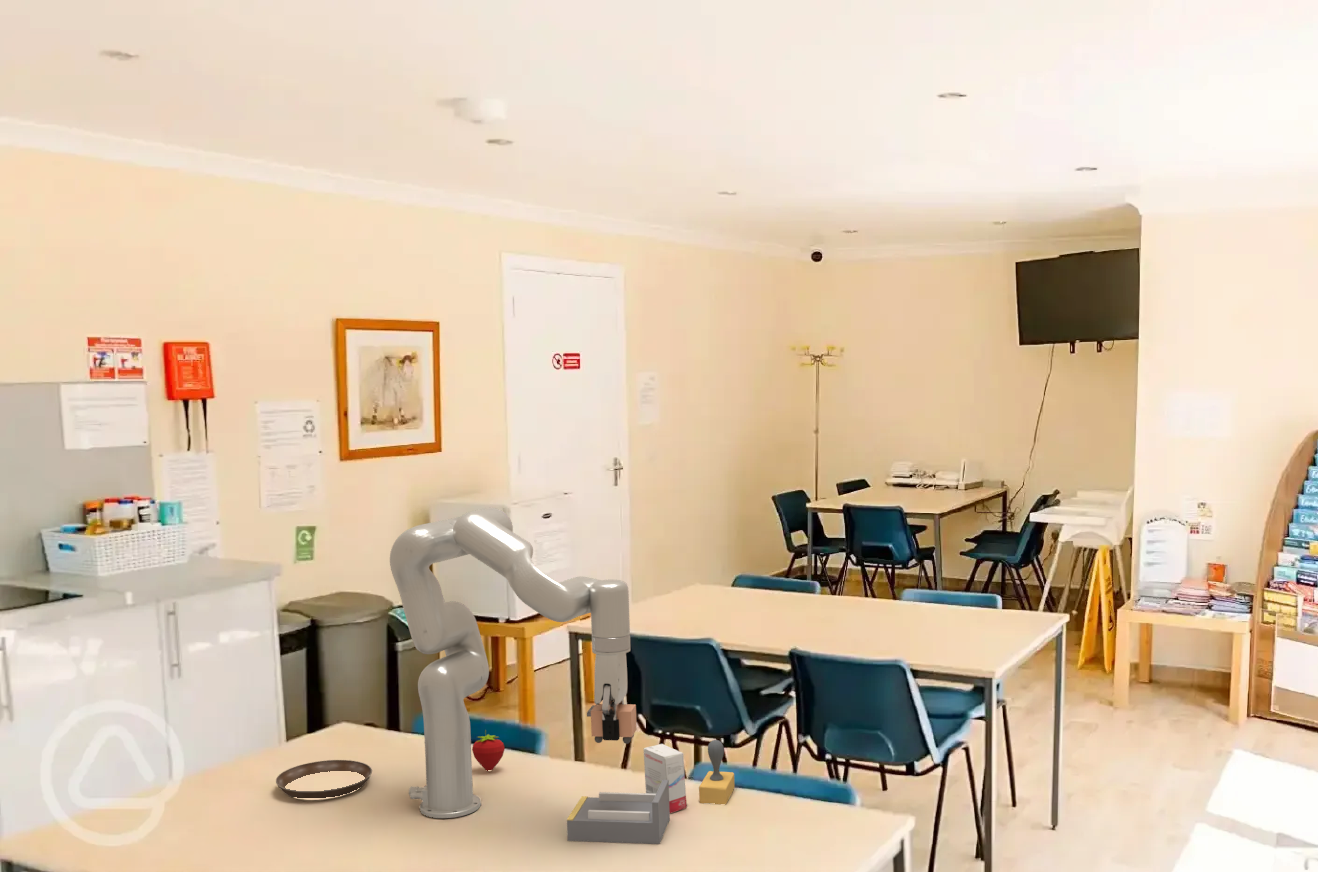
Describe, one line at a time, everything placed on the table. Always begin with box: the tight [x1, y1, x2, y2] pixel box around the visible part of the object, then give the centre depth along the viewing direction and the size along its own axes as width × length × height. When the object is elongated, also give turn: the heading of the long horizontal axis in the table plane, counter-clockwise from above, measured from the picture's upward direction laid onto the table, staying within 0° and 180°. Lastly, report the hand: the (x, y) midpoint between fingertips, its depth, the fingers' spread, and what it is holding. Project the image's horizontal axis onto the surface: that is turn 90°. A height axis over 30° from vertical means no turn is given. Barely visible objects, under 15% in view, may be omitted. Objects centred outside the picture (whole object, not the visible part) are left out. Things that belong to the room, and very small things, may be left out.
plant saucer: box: [275, 759, 373, 798], centre depth 253 cm, size 21×21×3 cm
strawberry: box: [471, 729, 505, 772], centre depth 260 cm, size 6×8×10 cm
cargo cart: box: [586, 703, 638, 745], centre depth 222 cm, size 9×5×6 cm, turn 81°
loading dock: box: [566, 780, 671, 845], centre depth 223 cm, size 18×13×8 cm
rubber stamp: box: [698, 739, 735, 805], centre depth 240 cm, size 10×6×12 cm, turn 166°
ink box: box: [643, 743, 688, 814], centre depth 235 cm, size 9×5×12 cm, turn 33°
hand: (614, 734), depth 222 cm, fingers closed on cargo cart, 5 cm apart
